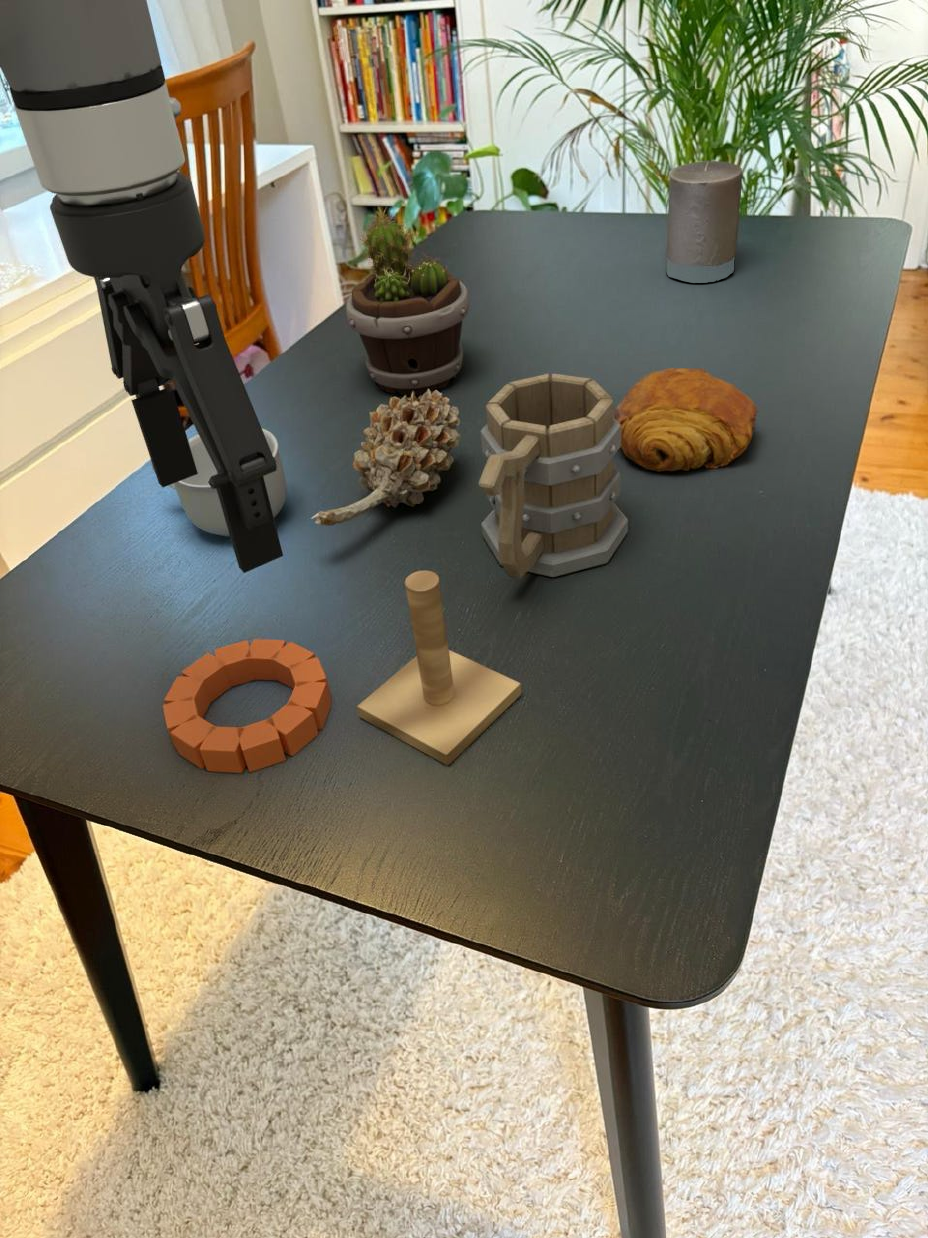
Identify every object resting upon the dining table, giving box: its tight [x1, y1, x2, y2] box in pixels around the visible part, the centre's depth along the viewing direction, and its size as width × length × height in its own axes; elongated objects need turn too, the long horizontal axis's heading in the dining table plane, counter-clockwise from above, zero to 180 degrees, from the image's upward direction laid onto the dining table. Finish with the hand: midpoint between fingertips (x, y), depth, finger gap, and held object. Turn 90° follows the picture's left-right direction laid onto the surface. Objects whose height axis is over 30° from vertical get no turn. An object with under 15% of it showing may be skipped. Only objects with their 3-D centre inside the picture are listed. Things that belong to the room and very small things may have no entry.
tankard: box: [478, 373, 629, 579], centre depth 85 cm, size 20×13×15 cm, turn 152°
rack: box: [356, 570, 522, 766], centre depth 72 cm, size 9×9×12 cm
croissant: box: [613, 367, 759, 473], centre depth 101 cm, size 14×16×8 cm
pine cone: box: [310, 388, 462, 527], centre depth 95 cm, size 22×10×10 cm, turn 155°
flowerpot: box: [345, 205, 470, 396], centre depth 115 cm, size 14×15×20 cm
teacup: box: [150, 427, 288, 538], centre depth 97 cm, size 14×11×8 cm
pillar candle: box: [666, 160, 743, 267], centre depth 135 cm, size 10×10×15 cm
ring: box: [162, 638, 332, 774], centre depth 76 cm, size 12×12×2 cm
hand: (217, 517), depth 65 cm, fingers open, 13 cm apart
